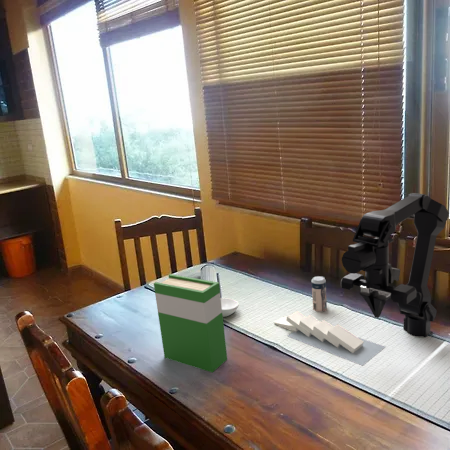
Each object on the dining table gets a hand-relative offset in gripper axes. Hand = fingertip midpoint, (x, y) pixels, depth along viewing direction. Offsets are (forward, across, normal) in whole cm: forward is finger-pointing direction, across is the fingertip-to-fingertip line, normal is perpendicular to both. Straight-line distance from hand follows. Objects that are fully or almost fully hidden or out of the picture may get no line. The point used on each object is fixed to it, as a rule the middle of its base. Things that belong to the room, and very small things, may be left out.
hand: (377, 317), depth 123 cm
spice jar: (+13, +30, -15) cm, 36 cm away
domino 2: (+11, +21, 0) cm, 24 cm away
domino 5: (+11, +6, 0) cm, 13 cm away
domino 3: (+11, +16, 0) cm, 20 cm away
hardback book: (+13, +41, +31) cm, 53 cm away
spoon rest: (+14, +56, +12) cm, 59 cm away
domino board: (+13, +14, 0) cm, 19 cm away
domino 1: (+11, +26, 0) cm, 28 cm away
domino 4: (+11, +11, 0) cm, 16 cm away
